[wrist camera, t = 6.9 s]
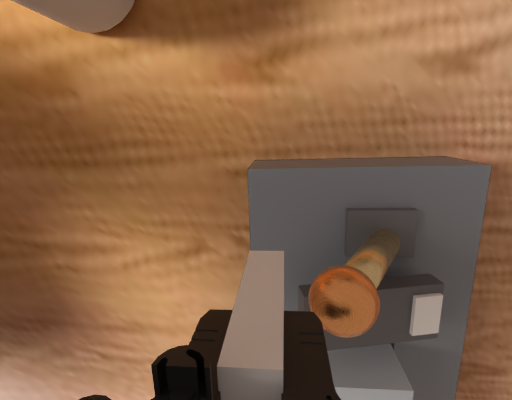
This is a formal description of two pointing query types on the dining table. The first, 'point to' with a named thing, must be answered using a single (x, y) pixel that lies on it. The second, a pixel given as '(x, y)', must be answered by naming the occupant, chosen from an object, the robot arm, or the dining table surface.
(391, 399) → the button grey
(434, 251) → the console
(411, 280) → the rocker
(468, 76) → the dining table surface
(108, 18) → the can
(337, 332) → the toggle
